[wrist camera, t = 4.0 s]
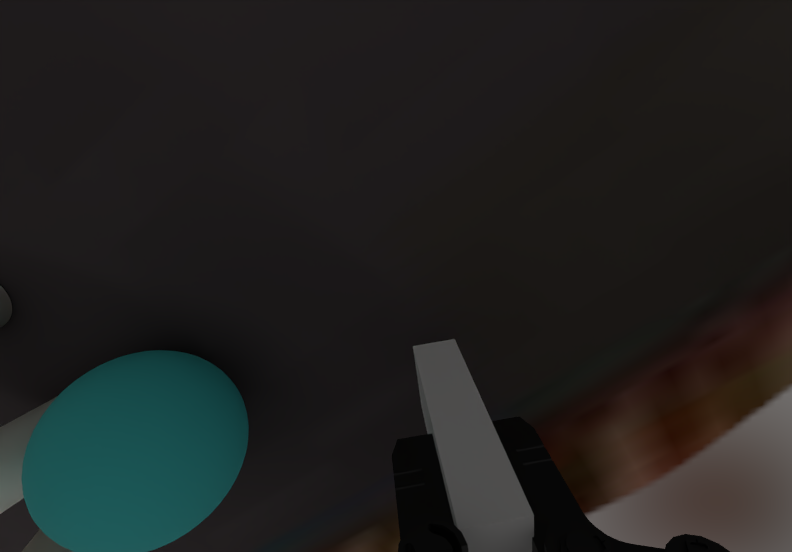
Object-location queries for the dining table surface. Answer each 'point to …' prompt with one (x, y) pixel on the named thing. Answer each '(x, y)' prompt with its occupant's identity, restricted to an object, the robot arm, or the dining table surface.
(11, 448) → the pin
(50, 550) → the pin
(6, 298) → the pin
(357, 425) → the dining table surface
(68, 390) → the ball
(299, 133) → the dining table surface
